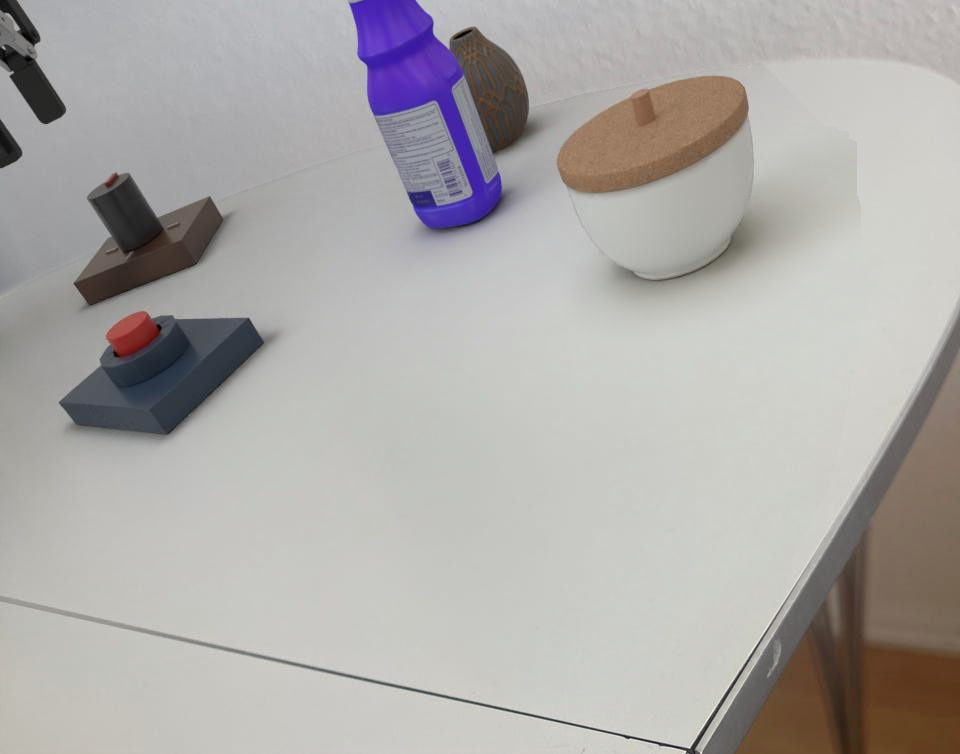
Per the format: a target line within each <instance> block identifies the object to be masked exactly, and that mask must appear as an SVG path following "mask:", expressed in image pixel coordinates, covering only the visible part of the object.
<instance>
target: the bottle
mask: <svg viewBox="0 0 960 754" xmlns="http://www.w3.org/2000/svg"><path fill="white" fill-rule="evenodd" d="M347 2H348V4H349V5H348V6H349V8H350V11H351V13H352V17H353V20H354V23H355V28H356V29H355V30H356V36H357V51H356V55H357V57H358V59H359V60H360V61H361V62H362V63H363V64H365V65H366V96H367V101H368V106H369V108H370V111H371V113H372V115H373V117H374V120H375V123H376V125H377V127H378V129H379V131H380V135H382V138H383V142H384V143H385V146H386V148H387V151H388V153H389V155H390V157H391V159H392V162H393V164H394V167H395V168H396V170H397V173H398V175H399V178H400V180H401V181H402V185H403V187H404V190H405V192H406V194H407V196H408V197H407V198H408V199H409V201H410V203H411V205H412V208H413V211H414V212H415V214H416V216H417V218H418V219H419V220H420V221H421V223H422V224H424V225H425V226H426V227H428V228H432V229H445V228H453V227H459V226H464V225H467V224H471V223H474V222H477V221H479V220H481V219H483V218H484V217H486V216H488V214H489V213H490V212H491V211H492V210H493V208H495V207H496V206H497V204H498V203H499V201H500V199H501V197H502V192H503V183H502V177H501V174H500V171H499V168H498V165H497V161H496V159H495V156H494V154H493V151H491V148H490V145H489V143H488V140H487V137H486V134H485V132H484V129H483V126H482V123H481V120H480V118H479V115H478V112H477V109H476V107H475V104H474V101H473V98H472V96H471V93H470V90H469V87H468V84H467V82H466V79H465V76H464V74H463V71H462V69H461V66H460V64H459V62H458V60H457V59H456V57H455V56H454V54H453V53H452V52H451V51H450V50H449V47H447V46H446V45H445V44H444V43H443V42H442V41H441V40H440V39H438V37H437V36H436V35H435V34H434V23H435V22H434V18H433V16H431V14H429V13H427V11H425V9H424V8H423V7H422V6H421V5H420V4H419V2H418V1H417V0H347Z"/></svg>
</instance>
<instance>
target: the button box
mask: <svg viewBox="0 0 960 754" xmlns="http://www.w3.org/2000/svg"><path fill="white" fill-rule="evenodd" d="M151 319H152V320H153V322H154V323H155V325H156V326H157V328H158V329H159V330H160V333H159V335H158V336H157V337H156V338H155V339H154V340H153V341H152V342H151V343H149V344H148V345H147V346H145V347H144V348H142V349H140V350H139V351H137V352H135V353H133V354H131V355H128V356H125V357H119V356H118V354H117V353H116V351H115V350H114V349H113V347H112V346H111V345H110V344H109V345H108V346H107V347H106V348H105V349H104V351H103V353H102V354H101V356H100V358H99V363H100V365H99V366H98V367H97V368H96V369H95V370H93V371H92V372H91V373H90V374H89V375H87V377H85V378H84V379H83V380H82V381H81V382H80V383H78V384H77V385H76V386H75V387H74V388H73V389H71V390H70V391H69V392H68V393H67V394H66V395H65V396H63V398H61V399H60V400H59V401H58V404H59V405H60V406H61V408H62V409H63V410H64V411H65V412H66V414H67V415H68V416H69V418H70V419H71V420H72V421H73V422H74V424H75V425H77V426H86V427H87V426H88V427H95V428H96V427H97V428H104V429H105V428H106V429H114V430H115V429H116V430H124V431H133V432H134V431H135V432H142V433H143V432H144V433H153V434H161V435H168V434H170V432H171V431H172V430H174V429H175V428H176V427H177V425H179V424H180V423H181V422H182V421H183V420H184V419H185V418H186V417H187V416H188V415H190V413H192V412H193V410H195V408H196V407H198V406H199V405H200V404H201V403H202V402H203V401H204V400H205V399H207V398H208V397H209V395H210V394H211V393H213V391H215V390H216V389H217V388H218V387H219V386H220V385H221V384H222V383H223V382H224V381H225V380H226V379H227V378H228V377H230V375H231V374H232V373H234V372H235V371H236V370H237V369H238V367H240V366H241V365H242V364H243V363H244V362H245V361H246V360H247V359H248V358H249V357H250V356H251V355H253V353H255V352H256V351H257V350H258V349H259V348H260V347H261V346H262V345H263V344H264V343H265V342H264V340H263V338H262V336H261V335H260V333H259V331H258V330H257V329H256V327H255V325H254V324H253V321H252V320H251V319H250V317H215V318H214V317H212V318H211V317H210V318H175V316H174V315H172V314H169V315H168V314H167V315H166V314H165V315H164V314H163V315H158V316H155V317H152V318H151Z"/></svg>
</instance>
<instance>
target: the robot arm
mask: <svg viewBox="0 0 960 754" xmlns="http://www.w3.org/2000/svg"><path fill="white" fill-rule="evenodd" d="M7 14H8V15H10V17H11V18H10V17H9V16H8V15H7ZM14 24H16V25H17V27H18V28H19V29H18V30H16V29H15V26H14ZM40 42H41V35H40V33H39V31H38V30H37V28H36V27H35V25H34V23H33V22H32V21H31V19H30V18H29V16H28V15H27V13H26V11H25V10H24V9H23V7H22V5H21V4H20V3H19V1H18V0H0V67H1V68H2V69H4V71H6V72H8V73H11V74H10V75H8V76H9V78H10V80H11V82H12V83H13V84H14V86H15V87H16V89H17V91H18V92H19V93H20V95H21V96H22V97H23V99H24V100H25V102H26V104H27V105H28V107H29V108H30V109H31V111H32V112H33V114H34V116H35V117H36V118H37V120H38V121H39V122H40V123H41V124H43V125H49V124H50V123H51V124H52V123H53V122H55V121H56V120H59V119H61V118H62V117H63V116H64V115H65V114H66V113H67V107H66V105H65V103H64V102H63V100H62V98H61V97H60V95H59V94H58V93H57V91H56V89H55V87H54V86H53V85H52V83H51V82H50V80H49V79H48V77H47V76H46V74H45V72H44V71H43V69H42V68H41V66H40V65H39V63H38V62H37V60H36V59H38V53H37V50H36V45H37V44H38V43H40ZM3 47H4V48H3ZM22 157H23V149H22V147H21V146H20V145H19V143H18V142H17V140H16V139H15V138H14V137H13V134H12V133H11V132H10V130H9V129H8V128H7V126H6V125H5V123H4V122H3V121H2V118H0V169H4V168H6V167H8V166H10V165H12V164H14V163H16V162H18V161H19V160H20V158H22Z"/></svg>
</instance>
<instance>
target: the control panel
mask: <svg viewBox="0 0 960 754" xmlns="http://www.w3.org/2000/svg"><path fill="white" fill-rule="evenodd" d="M157 218H158V220H159V221H160V223H161V224H162V226H163V228H162V230H161V232H160V233H159V234H158V235H157V236H156V237H154V238H153V239H152V240H150V241H149V242H147V243H146V244H144V245H142V246H140V247H138V248H136V249H133V250H131V251H126V252H123V251H121V249H120V248H119V246H118V245H117V243H116V242H115V240H114V239H113V237H112V236H110V237H108V238H106V240H105V241H104V242H103V244H102V245H101V246H100V248H99V249H98V250H97V251H96V253H95V254H94V255H93V256H92V258H91V259H90V261H88V264H86V266H85V267H84V269H82V270H81V272H80V274H79V275H78V277H76V279H75V280H74V281H73V285H74V287H75V288H76V290H77V291H78V292H79V294H80V295H81V296H82V298H83V299H84V300H85V302H86V304H87V305H88V306H91V305H94V304H96V303H99V302H101V301H104V300H106V299H109V298H112V297H114V296H117V295H119V294H122V293H125V292H127V291H130V290H132V289H134V288H137V287H140V286H142V285H145V284H147V283H150V282H153V281H155V280H159V279H161V278H163V277H165V276H168V275H171V274H173V273H176V272H178V271H181V270H183V269H186V268H189V267H191V266H194V265H197V263H198V261H199V259H200V258H201V256H202V255H203V253H204V252H205V250H206V248H207V246H208V244H209V243H210V242H211V240H212V238H213V237H214V235H215V234H216V231H217V230H218V229H219V226H220V225H221V223H222V222H223V220H224V218H223V216H222V213H221V212H220V210H219V209H218V207H217V205H216V204H215V202H214V200H213V199H212V197H211V196H210V195H209V196H208V195H207V196H206V197H204V198H202V199H199V200H197V201H194V202H192V203H189V204H187V205H185V206H182V207H180V208H177V209H174V210H172V211H170V212H168V213H164V214H163V215H160V216H157Z"/></svg>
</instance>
